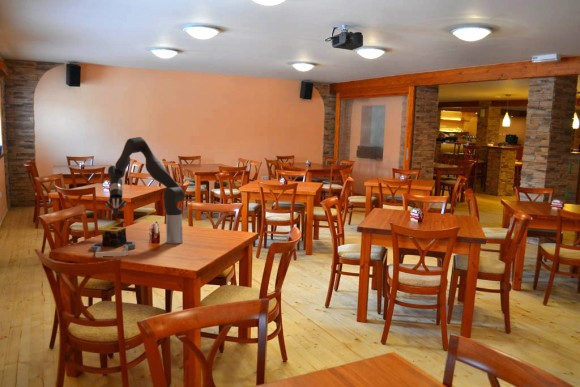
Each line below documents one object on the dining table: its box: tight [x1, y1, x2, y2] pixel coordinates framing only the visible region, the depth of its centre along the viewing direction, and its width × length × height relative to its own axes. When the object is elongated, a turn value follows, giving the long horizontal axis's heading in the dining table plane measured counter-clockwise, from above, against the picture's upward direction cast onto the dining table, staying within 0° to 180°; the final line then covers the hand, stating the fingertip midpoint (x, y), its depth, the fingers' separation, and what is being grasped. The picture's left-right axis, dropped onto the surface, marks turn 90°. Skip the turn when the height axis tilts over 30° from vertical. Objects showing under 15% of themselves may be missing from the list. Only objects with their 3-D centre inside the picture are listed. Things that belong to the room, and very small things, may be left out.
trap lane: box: [90, 240, 136, 258], centre depth 270 cm, size 23×22×2 cm
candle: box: [101, 226, 128, 249], centre depth 282 cm, size 10×10×10 cm
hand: (115, 214), depth 300 cm, fingers closed
